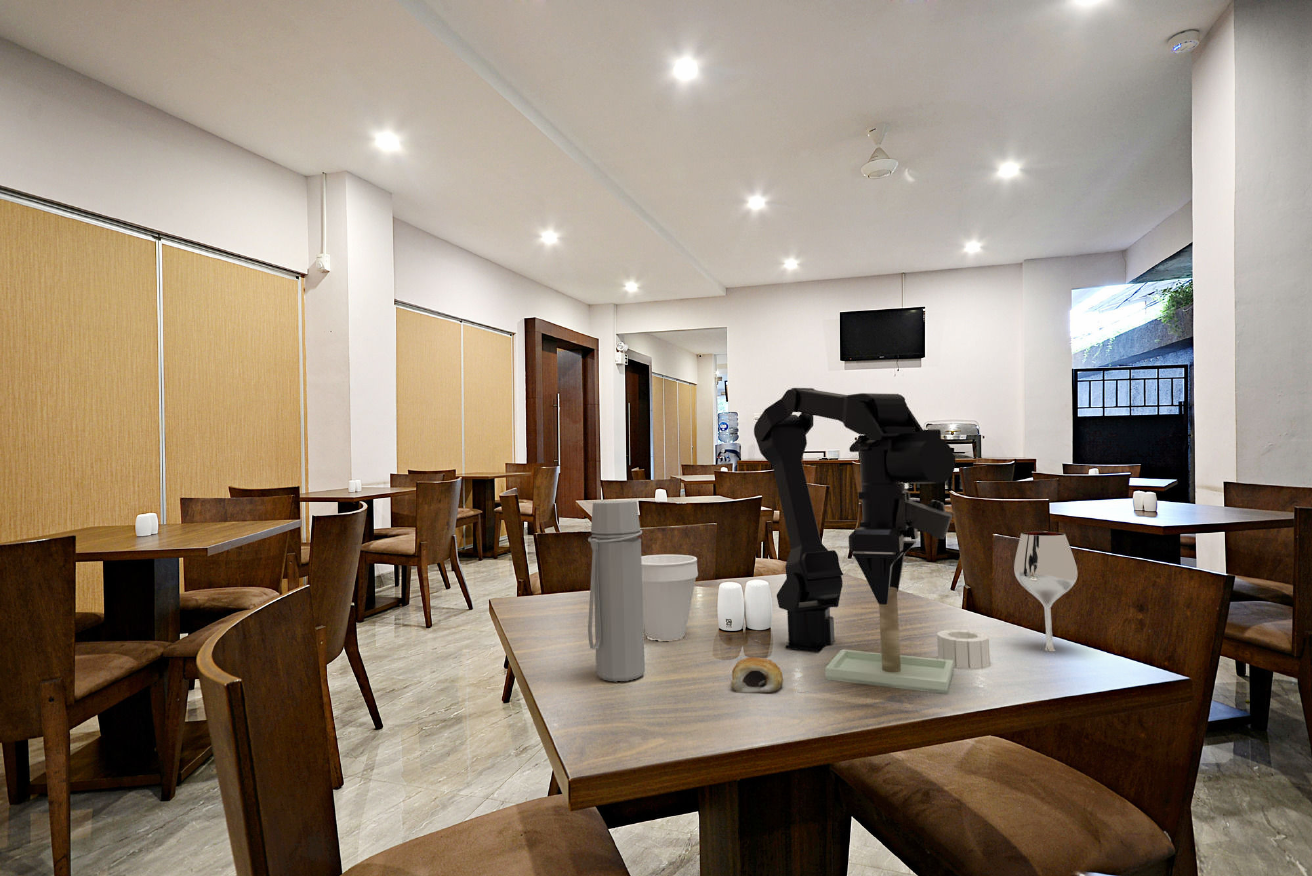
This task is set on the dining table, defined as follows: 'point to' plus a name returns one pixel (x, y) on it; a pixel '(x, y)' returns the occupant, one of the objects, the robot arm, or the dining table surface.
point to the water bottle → (617, 591)
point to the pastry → (756, 676)
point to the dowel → (890, 633)
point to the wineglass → (1045, 570)
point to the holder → (964, 648)
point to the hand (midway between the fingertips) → (888, 597)
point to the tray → (912, 675)
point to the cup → (667, 594)
